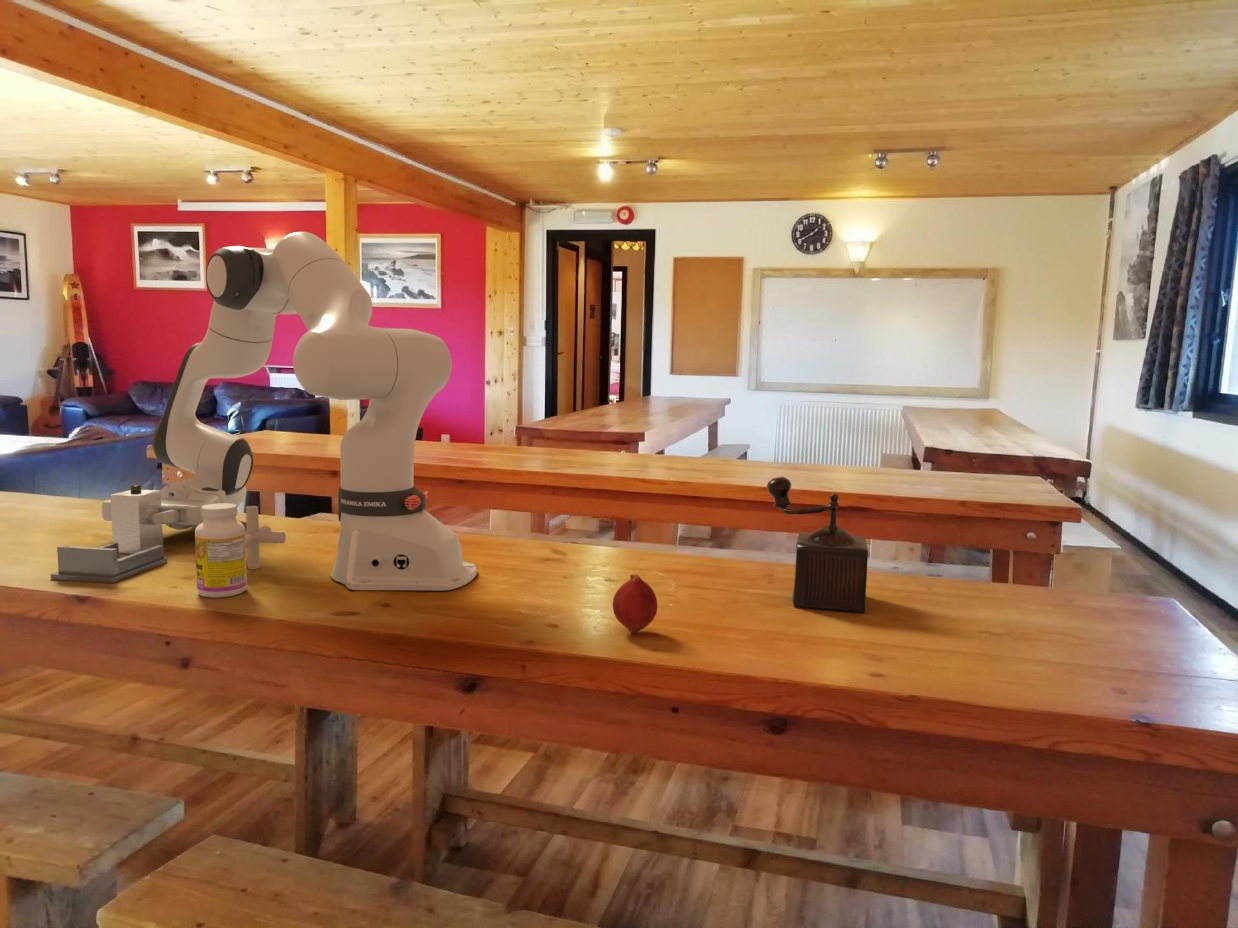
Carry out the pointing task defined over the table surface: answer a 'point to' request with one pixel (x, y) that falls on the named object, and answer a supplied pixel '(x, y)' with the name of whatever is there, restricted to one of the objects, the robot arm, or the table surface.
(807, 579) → the manual coffee grinder
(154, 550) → the tray
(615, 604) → the onion
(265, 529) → the pipe connector
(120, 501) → the block
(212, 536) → the supplement bottle
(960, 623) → the table surface
